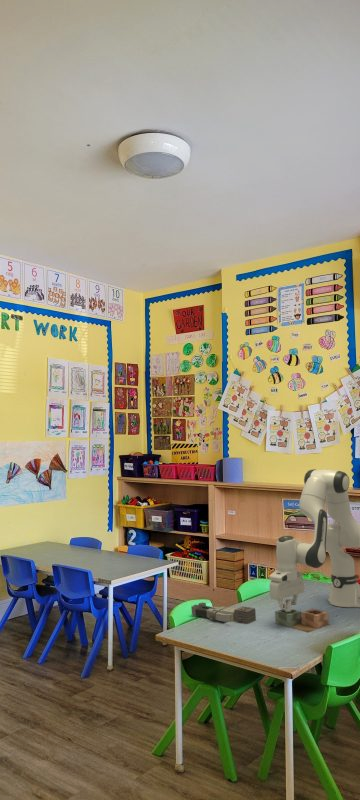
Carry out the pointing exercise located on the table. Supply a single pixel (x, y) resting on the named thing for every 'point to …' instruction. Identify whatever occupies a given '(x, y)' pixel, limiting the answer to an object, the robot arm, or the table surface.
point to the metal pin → (287, 605)
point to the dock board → (302, 619)
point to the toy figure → (225, 613)
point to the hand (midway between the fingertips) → (288, 606)
